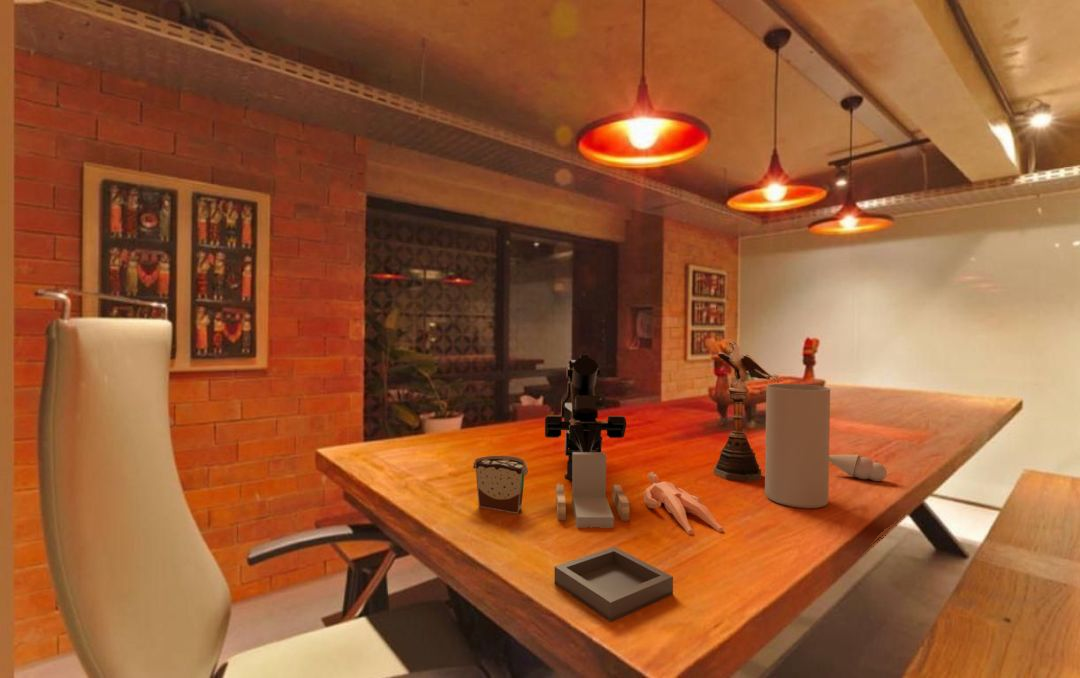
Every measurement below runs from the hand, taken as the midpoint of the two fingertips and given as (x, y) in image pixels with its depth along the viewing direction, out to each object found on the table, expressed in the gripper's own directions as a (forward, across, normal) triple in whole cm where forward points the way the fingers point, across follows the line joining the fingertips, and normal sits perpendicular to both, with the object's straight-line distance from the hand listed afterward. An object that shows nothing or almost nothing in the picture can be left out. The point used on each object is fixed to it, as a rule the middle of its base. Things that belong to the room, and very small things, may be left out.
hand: (586, 458), depth 113 cm
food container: (+10, -18, +2) cm, 21 cm away
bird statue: (-8, +42, +20) cm, 48 cm away
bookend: (+13, 0, -1) cm, 14 cm away
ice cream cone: (-6, +69, +18) cm, 72 cm away
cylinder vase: (+7, +46, +6) cm, 47 cm away
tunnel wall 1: (+12, -6, 0) cm, 13 cm away
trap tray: (+34, 0, -22) cm, 41 cm away
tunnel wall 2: (+12, +6, 0) cm, 13 cm away
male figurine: (+12, +18, +1) cm, 21 cm away
